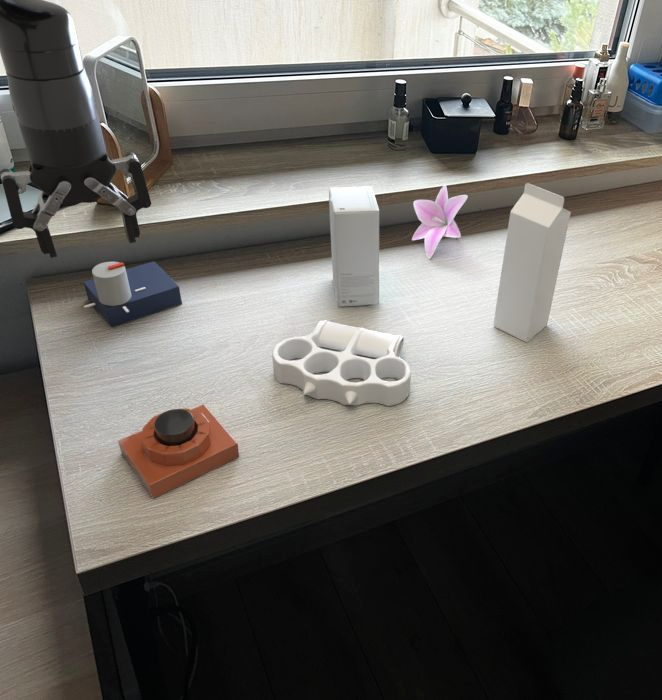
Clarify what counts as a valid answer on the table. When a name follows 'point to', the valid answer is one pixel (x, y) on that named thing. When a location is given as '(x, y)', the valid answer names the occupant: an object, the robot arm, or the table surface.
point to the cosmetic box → (354, 245)
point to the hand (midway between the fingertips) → (93, 246)
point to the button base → (178, 453)
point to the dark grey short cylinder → (175, 427)
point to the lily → (437, 219)
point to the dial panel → (138, 295)
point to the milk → (531, 262)
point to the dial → (111, 283)
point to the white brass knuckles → (344, 365)
